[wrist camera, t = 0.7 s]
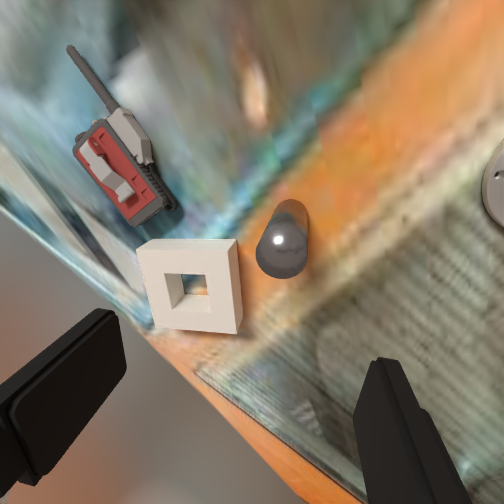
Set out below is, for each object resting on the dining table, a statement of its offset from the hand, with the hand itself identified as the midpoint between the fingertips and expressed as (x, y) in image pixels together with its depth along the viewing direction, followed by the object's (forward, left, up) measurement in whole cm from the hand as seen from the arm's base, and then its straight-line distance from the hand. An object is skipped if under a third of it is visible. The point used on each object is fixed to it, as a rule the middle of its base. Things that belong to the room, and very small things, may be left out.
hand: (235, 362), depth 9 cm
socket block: (+12, +10, -23) cm, 28 cm away
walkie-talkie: (+20, -8, -24) cm, 33 cm away
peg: (-1, +1, -23) cm, 23 cm away
